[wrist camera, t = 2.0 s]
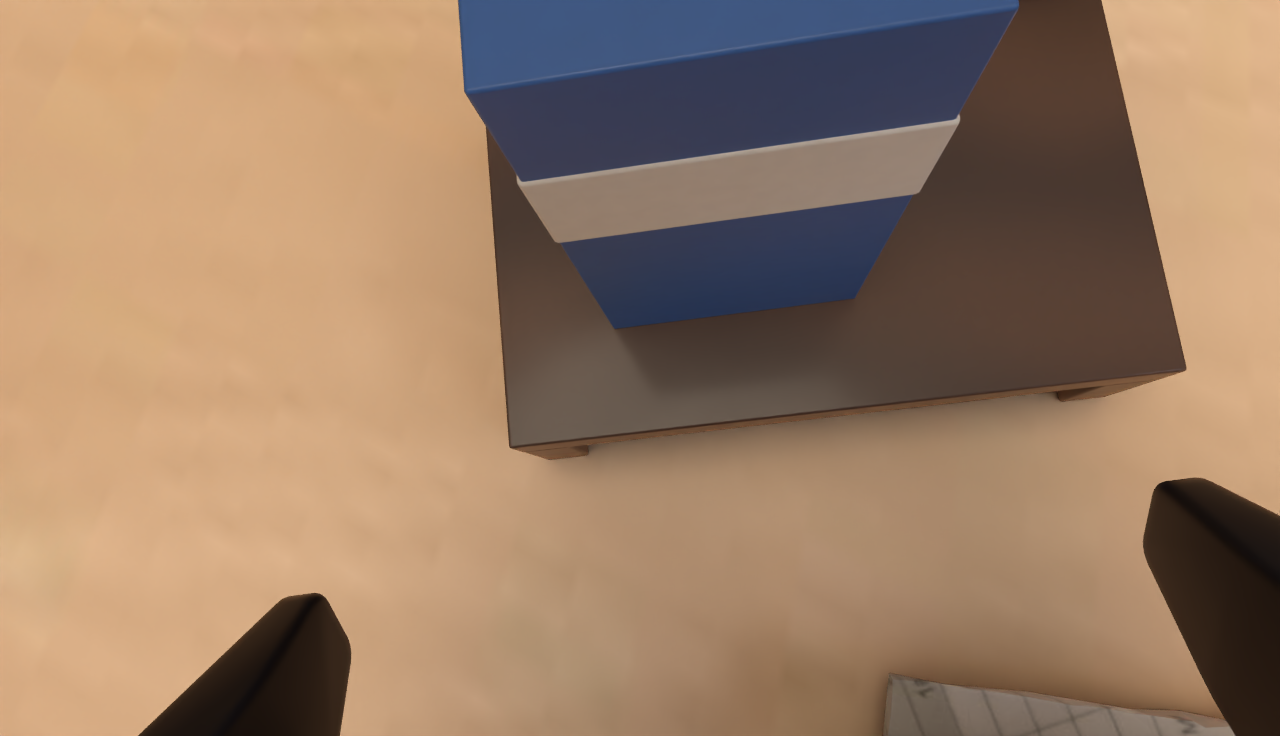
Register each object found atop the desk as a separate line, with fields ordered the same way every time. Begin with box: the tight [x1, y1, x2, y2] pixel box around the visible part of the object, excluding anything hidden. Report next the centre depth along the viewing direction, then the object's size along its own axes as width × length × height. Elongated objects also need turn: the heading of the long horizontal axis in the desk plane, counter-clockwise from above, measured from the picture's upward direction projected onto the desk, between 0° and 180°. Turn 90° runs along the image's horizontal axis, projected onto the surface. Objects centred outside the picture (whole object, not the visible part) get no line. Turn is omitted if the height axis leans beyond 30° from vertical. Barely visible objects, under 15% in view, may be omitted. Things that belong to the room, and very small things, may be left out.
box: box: [458, 0, 1019, 329], centre depth 14 cm, size 6×6×11 cm
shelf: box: [486, 0, 1186, 460], centre depth 21 cm, size 11×15×6 cm
